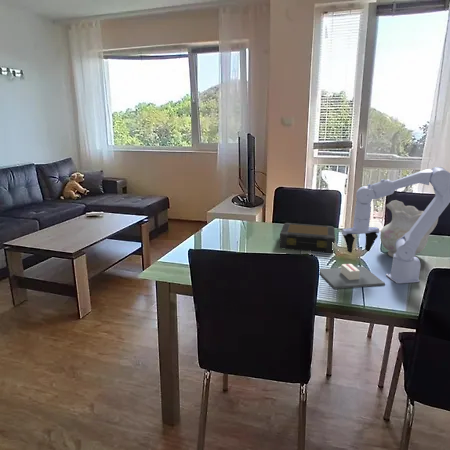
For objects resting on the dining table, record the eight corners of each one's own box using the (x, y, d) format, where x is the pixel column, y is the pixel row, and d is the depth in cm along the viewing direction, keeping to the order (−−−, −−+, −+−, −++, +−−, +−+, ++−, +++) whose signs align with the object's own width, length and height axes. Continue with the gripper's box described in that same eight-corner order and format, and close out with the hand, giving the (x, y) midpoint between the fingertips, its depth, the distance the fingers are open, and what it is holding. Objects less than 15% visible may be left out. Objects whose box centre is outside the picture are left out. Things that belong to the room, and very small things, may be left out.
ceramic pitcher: (431, 256, 171) (440, 202, 166) (429, 268, 155) (439, 208, 150) (381, 248, 182) (388, 197, 177) (374, 258, 166) (381, 202, 160)
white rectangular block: (358, 279, 144) (359, 270, 143) (349, 279, 143) (350, 271, 142) (350, 271, 150) (351, 263, 149) (340, 272, 150) (341, 264, 149)
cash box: (333, 240, 191) (334, 225, 188) (333, 254, 172) (335, 238, 170) (283, 235, 197) (284, 221, 194) (278, 249, 178) (279, 233, 176)
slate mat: (363, 268, 156) (363, 266, 156) (384, 285, 141) (385, 283, 140) (317, 271, 153) (317, 269, 153) (334, 288, 138) (334, 286, 137)
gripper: (373, 214, 150) (369, 246, 153) (339, 216, 147) (336, 248, 151) (383, 219, 143) (379, 252, 147) (348, 221, 140) (345, 255, 144)
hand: (358, 251), depth 148 cm, fingers open, 7 cm apart
